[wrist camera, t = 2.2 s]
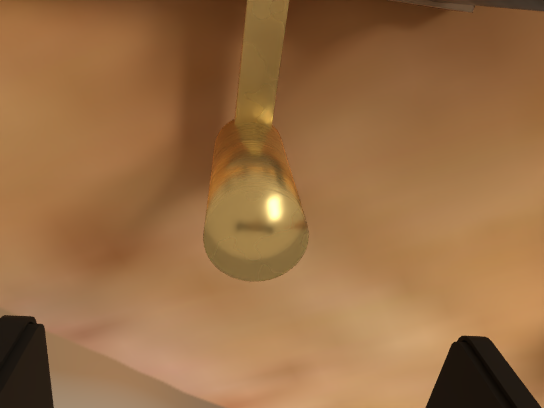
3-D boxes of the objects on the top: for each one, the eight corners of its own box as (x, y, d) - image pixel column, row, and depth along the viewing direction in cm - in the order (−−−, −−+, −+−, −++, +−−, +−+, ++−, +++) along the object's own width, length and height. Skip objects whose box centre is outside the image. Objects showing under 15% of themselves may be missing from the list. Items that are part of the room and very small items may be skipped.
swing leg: (236, -117, 18) (237, -201, 10) (322, -101, 18) (391, -169, 10) (211, 177, 23) (199, 278, 15) (277, 184, 24) (299, 284, 16)
